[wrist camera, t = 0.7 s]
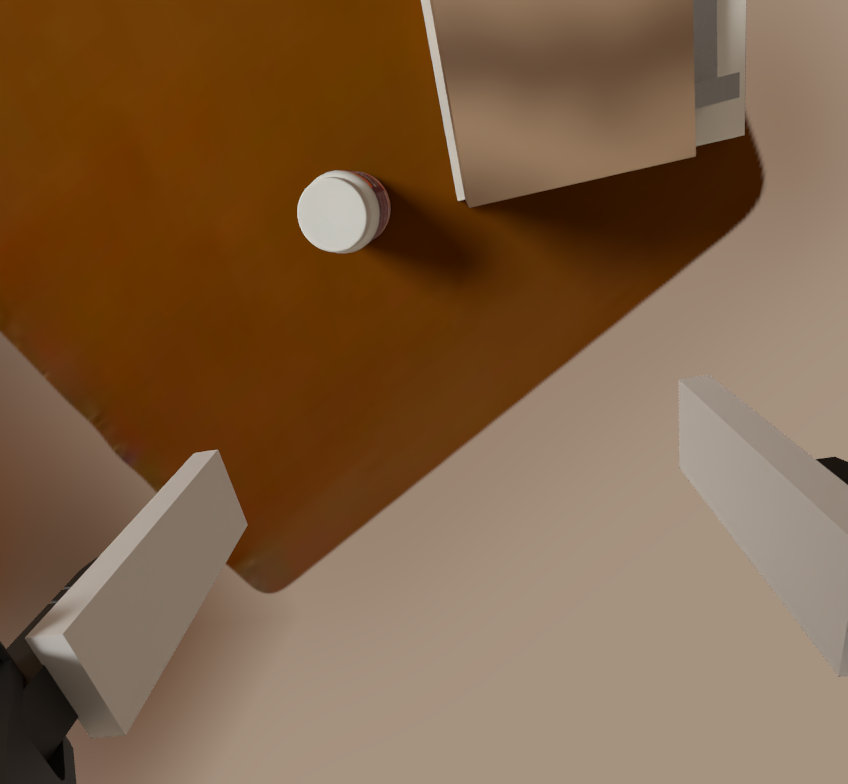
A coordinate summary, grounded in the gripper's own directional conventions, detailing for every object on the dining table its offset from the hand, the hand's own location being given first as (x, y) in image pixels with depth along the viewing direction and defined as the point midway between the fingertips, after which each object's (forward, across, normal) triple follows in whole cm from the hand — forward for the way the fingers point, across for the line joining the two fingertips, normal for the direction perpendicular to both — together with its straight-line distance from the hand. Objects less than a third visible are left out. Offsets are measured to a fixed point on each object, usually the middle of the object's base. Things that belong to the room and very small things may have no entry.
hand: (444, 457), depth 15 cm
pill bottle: (+26, -6, +6) cm, 27 cm away
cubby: (+24, +7, +11) cm, 27 cm away
